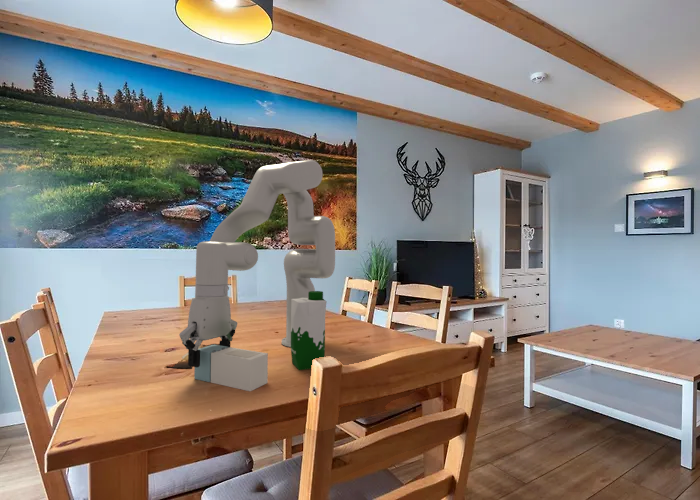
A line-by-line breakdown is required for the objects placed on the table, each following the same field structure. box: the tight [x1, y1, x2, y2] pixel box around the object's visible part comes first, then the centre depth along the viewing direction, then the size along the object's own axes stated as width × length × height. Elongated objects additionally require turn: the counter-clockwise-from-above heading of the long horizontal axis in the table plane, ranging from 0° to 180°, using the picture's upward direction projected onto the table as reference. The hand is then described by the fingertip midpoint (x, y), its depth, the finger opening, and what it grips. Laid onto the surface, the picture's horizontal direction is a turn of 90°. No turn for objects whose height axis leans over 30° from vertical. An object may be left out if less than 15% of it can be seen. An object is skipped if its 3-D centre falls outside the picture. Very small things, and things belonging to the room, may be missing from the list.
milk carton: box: [290, 290, 327, 371], centre depth 103 cm, size 9×9×20 cm
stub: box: [193, 344, 227, 383], centre depth 93 cm, size 6×5×7 cm
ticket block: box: [210, 346, 269, 392], centre depth 89 cm, size 6×12×7 cm, turn 64°
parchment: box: [166, 343, 219, 370], centre depth 111 cm, size 25×10×1 cm, turn 0°
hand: (209, 361), depth 93 cm, fingers open, 9 cm apart
